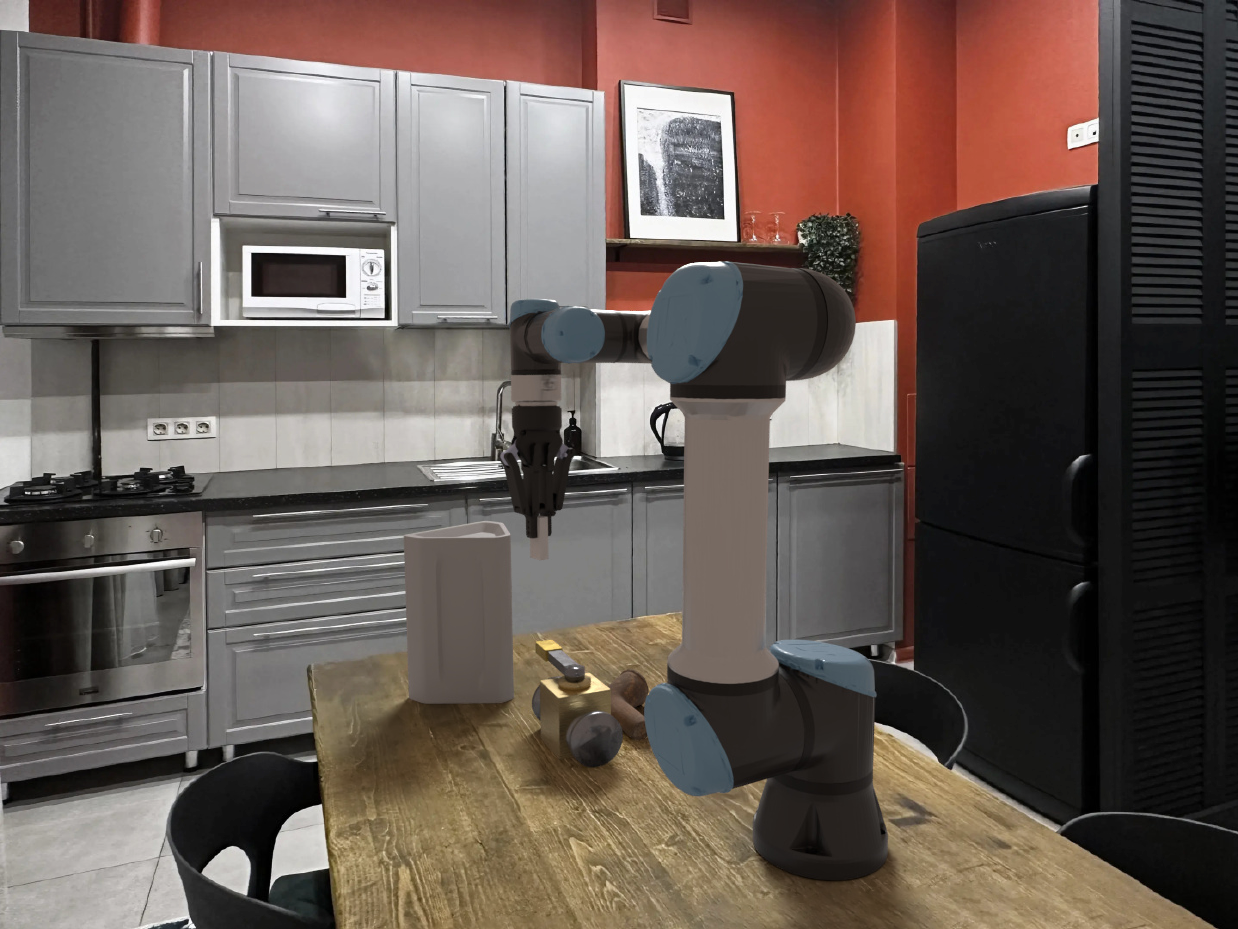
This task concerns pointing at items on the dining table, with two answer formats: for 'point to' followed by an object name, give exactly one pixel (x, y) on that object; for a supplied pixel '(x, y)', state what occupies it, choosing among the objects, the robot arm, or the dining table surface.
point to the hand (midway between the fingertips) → (539, 558)
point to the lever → (560, 660)
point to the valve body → (578, 719)
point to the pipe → (629, 702)
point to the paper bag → (459, 614)
